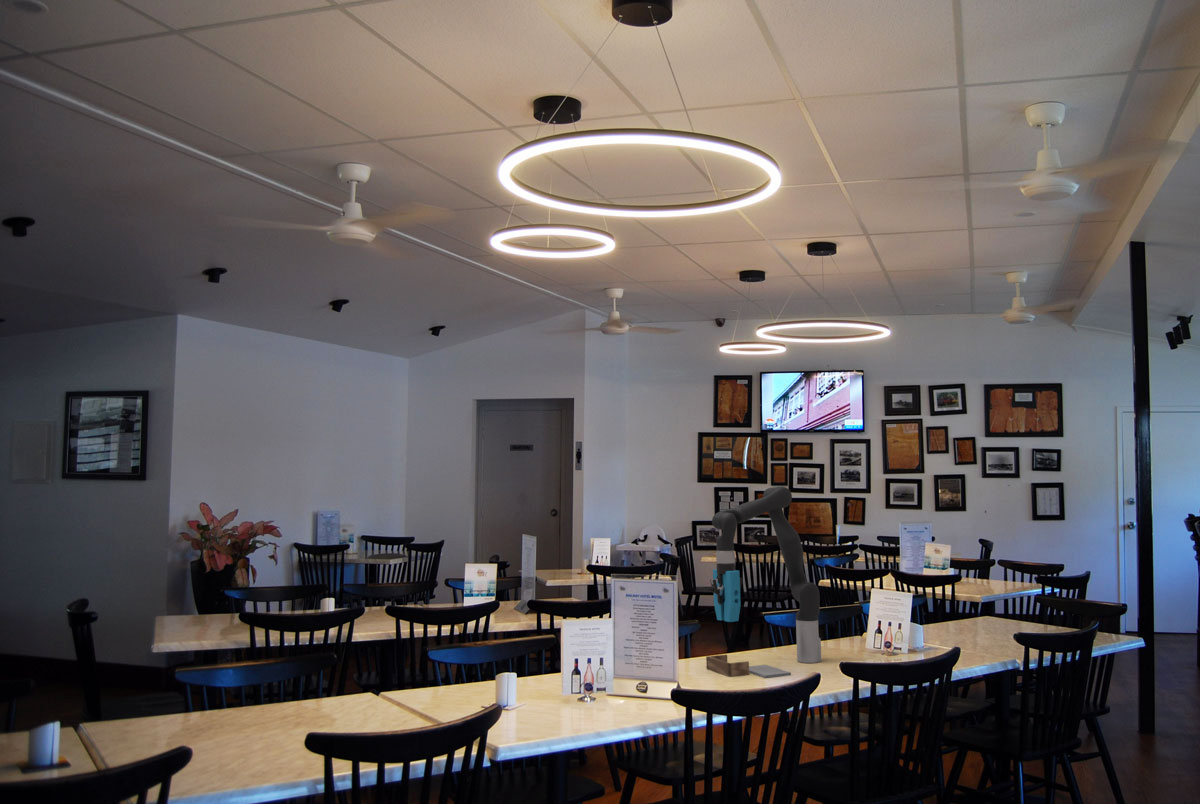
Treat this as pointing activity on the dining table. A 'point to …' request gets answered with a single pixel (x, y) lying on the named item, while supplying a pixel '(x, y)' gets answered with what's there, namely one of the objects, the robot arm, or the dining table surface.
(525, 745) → the dining table surface
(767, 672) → the slate pad
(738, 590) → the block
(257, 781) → the dining table surface
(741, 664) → the walnut stall
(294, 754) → the dining table surface
